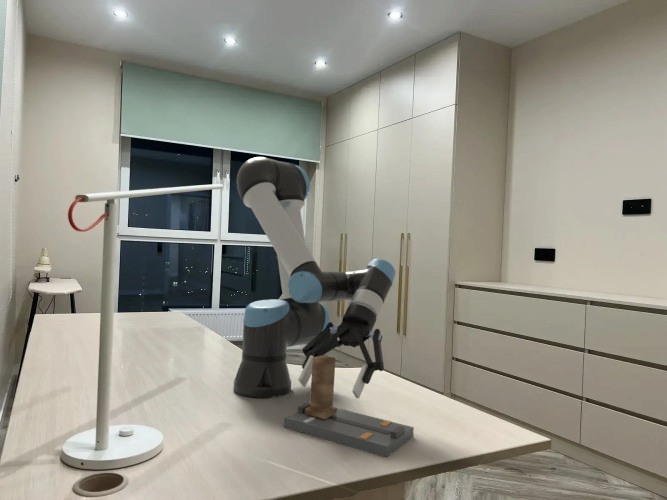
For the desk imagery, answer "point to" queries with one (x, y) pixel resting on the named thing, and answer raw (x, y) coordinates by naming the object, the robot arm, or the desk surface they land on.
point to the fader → (322, 388)
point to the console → (352, 430)
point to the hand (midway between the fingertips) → (327, 388)
